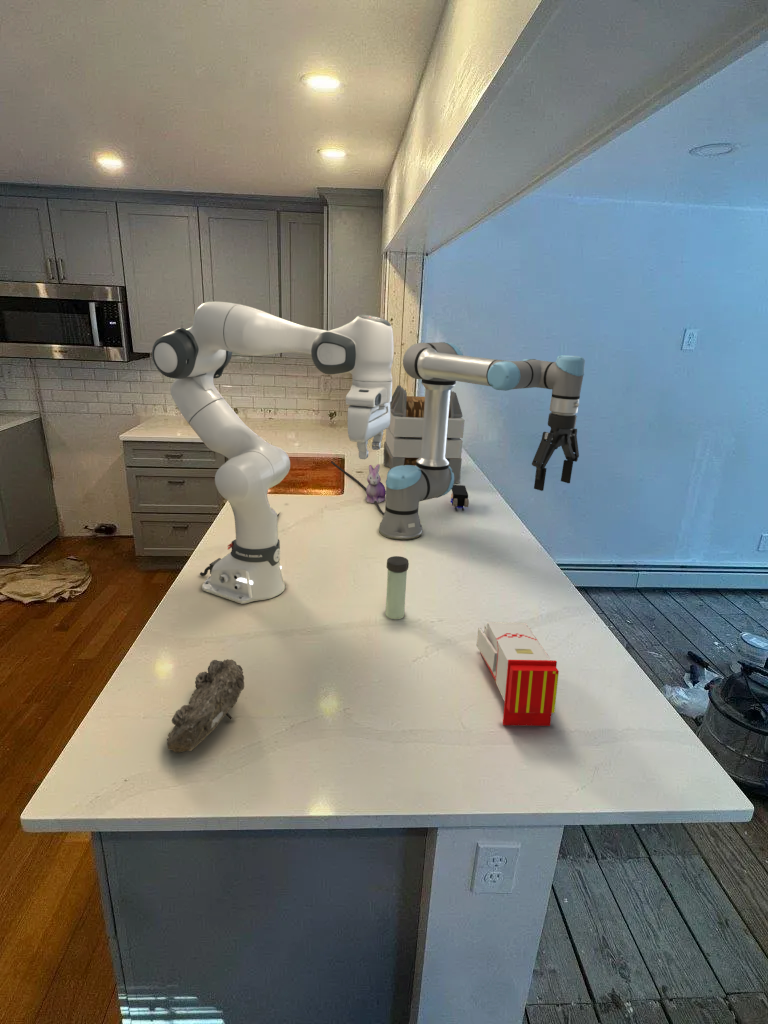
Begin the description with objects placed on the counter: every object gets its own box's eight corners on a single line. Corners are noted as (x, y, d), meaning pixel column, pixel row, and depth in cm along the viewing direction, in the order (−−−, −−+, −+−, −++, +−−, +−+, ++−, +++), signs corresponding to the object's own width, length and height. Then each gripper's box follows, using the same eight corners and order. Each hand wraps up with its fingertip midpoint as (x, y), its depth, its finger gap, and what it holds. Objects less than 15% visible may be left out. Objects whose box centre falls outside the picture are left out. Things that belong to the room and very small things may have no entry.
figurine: (370, 505, 227) (371, 469, 222) (359, 497, 235) (360, 462, 230) (391, 502, 231) (393, 467, 226) (379, 495, 240) (381, 460, 234)
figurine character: (468, 516, 224) (463, 500, 237) (471, 498, 221) (465, 483, 234) (452, 515, 224) (447, 499, 237) (453, 498, 220) (449, 482, 234)
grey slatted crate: (382, 463, 289) (386, 382, 275) (445, 464, 293) (451, 384, 279) (390, 482, 257) (394, 392, 243) (460, 483, 261) (468, 394, 247)
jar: (386, 619, 145) (389, 566, 140) (384, 610, 149) (386, 558, 144) (405, 619, 145) (408, 566, 140) (402, 609, 150) (405, 558, 145)
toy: (524, 607, 134) (567, 667, 105) (519, 659, 137) (560, 732, 107) (473, 606, 133) (502, 666, 104) (469, 658, 136) (497, 731, 107)
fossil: (192, 660, 117) (244, 628, 112) (224, 691, 120) (276, 661, 115) (142, 746, 98) (202, 712, 93) (182, 779, 101) (242, 748, 96)
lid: (388, 572, 140) (388, 565, 139) (385, 563, 145) (385, 556, 144) (409, 572, 140) (410, 565, 140) (406, 563, 146) (406, 555, 145)
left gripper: (372, 386, 136) (371, 443, 141) (342, 397, 117) (341, 462, 122) (398, 388, 134) (395, 445, 139) (371, 400, 116) (369, 465, 120)
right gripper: (548, 419, 148) (537, 496, 155) (598, 411, 163) (586, 482, 171) (525, 414, 153) (515, 489, 160) (575, 407, 169) (564, 476, 176)
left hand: (370, 453), depth 130 cm, fingers open, 8 cm apart
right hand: (552, 485), depth 166 cm, fingers open, 13 cm apart
